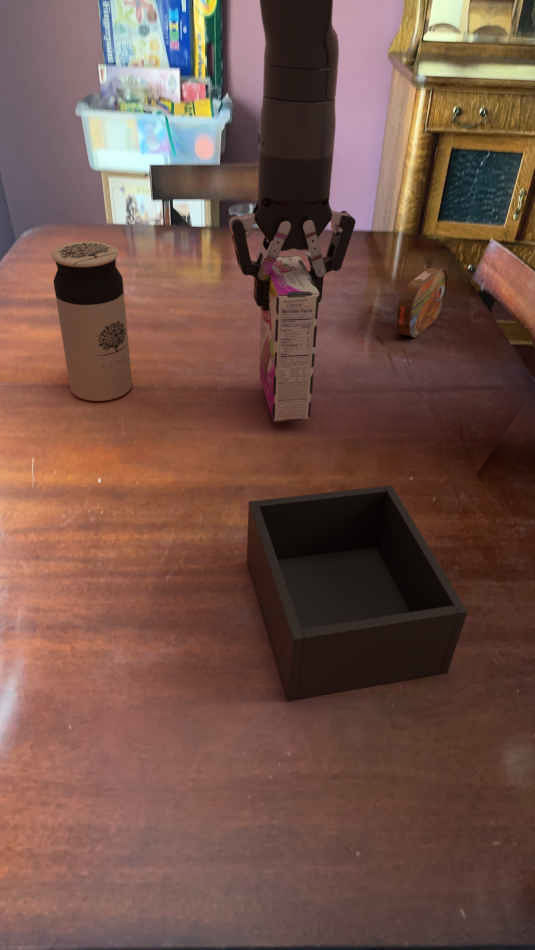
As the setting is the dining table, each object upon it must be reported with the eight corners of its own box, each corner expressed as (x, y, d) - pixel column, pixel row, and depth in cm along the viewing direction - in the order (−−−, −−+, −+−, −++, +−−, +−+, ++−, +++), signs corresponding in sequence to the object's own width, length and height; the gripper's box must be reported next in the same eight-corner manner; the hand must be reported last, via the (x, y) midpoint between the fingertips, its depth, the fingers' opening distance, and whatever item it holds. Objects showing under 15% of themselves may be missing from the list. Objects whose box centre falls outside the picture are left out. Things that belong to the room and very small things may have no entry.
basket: (380, 543, 67) (391, 484, 63) (447, 672, 55) (468, 611, 51) (246, 561, 64) (248, 501, 60) (287, 701, 52) (293, 639, 48)
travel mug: (61, 382, 90) (38, 246, 79) (116, 367, 93) (102, 236, 82) (85, 409, 85) (65, 268, 74) (142, 392, 88) (131, 256, 77)
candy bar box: (256, 378, 90) (259, 255, 80) (293, 376, 90) (301, 254, 80) (270, 423, 81) (276, 292, 71) (311, 421, 82) (322, 291, 72)
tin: (407, 345, 103) (417, 292, 98) (388, 339, 104) (397, 287, 99) (443, 313, 113) (454, 263, 108) (426, 308, 114) (435, 259, 109)
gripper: (233, 157, 64) (232, 324, 74) (376, 154, 66) (356, 316, 77) (219, 139, 69) (220, 297, 80) (351, 138, 72) (336, 290, 83)
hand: (287, 306), depth 78 cm, fingers closed on candy bar box, 5 cm apart
